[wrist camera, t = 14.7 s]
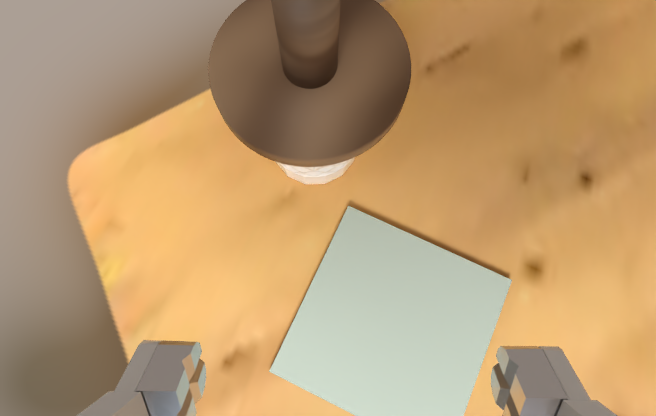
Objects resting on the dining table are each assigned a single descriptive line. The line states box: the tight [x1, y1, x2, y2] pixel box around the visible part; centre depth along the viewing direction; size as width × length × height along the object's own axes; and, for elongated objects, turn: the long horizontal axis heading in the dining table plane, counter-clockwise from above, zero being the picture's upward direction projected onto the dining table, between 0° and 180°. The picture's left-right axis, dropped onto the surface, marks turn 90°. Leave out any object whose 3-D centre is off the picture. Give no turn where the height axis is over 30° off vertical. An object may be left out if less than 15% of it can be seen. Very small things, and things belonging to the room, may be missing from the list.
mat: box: [269, 206, 512, 416], centre depth 30 cm, size 13×13×1 cm
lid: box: [209, 0, 411, 167], centre depth 21 cm, size 11×11×7 cm
